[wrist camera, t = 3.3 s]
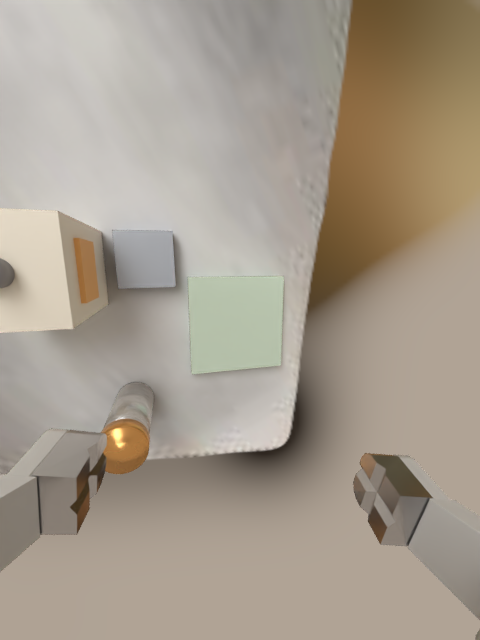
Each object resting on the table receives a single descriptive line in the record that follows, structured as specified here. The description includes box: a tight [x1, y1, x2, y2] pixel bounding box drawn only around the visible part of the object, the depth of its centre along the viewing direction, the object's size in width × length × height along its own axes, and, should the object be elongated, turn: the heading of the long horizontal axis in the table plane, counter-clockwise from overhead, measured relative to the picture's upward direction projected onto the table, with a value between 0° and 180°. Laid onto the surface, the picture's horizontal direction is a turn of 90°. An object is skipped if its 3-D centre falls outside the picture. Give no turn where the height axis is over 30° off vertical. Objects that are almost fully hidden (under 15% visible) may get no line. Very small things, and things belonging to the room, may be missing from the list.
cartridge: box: [101, 382, 154, 474], centre depth 29 cm, size 5×5×10 cm
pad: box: [187, 276, 284, 374], centre depth 34 cm, size 12×12×1 cm
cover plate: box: [112, 230, 176, 289], centre depth 30 cm, size 6×6×2 cm
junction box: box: [0, 208, 109, 333], centre depth 22 cm, size 8×8×14 cm
